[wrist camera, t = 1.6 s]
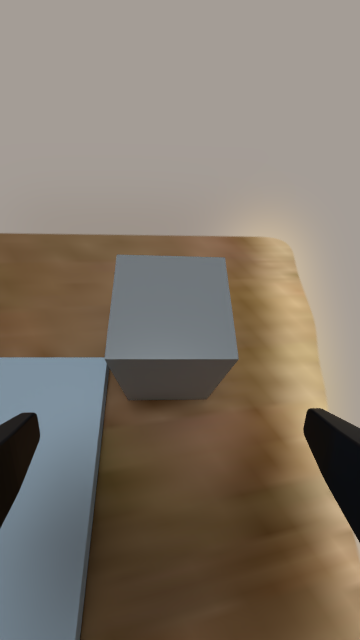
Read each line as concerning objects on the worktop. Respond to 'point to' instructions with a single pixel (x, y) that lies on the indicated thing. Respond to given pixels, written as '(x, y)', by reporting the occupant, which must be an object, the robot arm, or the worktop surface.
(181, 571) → the worktop surface
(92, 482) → the board
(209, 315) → the tall gray block
